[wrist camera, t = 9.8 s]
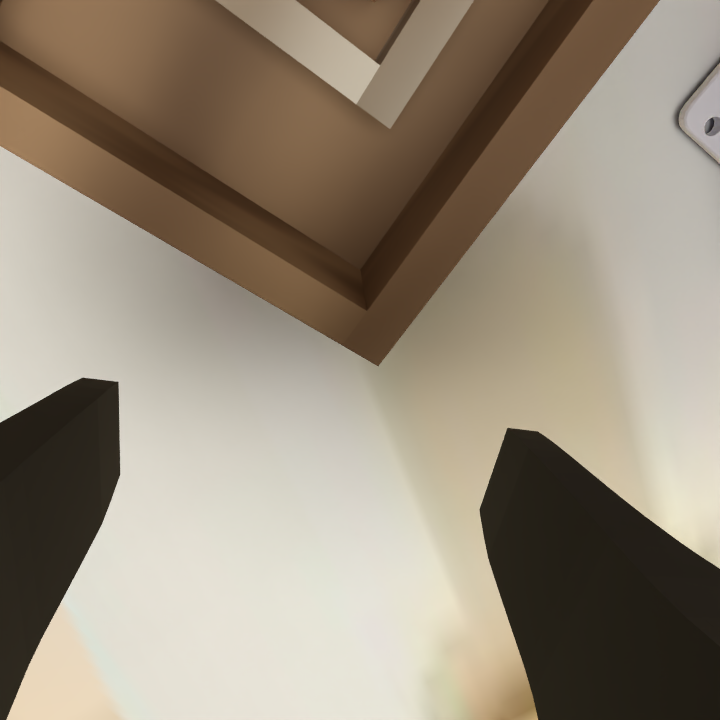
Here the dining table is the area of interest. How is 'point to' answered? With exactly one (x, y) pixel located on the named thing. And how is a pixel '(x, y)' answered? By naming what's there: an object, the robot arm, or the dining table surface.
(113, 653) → the dining table surface
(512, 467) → the robot arm
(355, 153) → the box
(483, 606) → the dining table surface
